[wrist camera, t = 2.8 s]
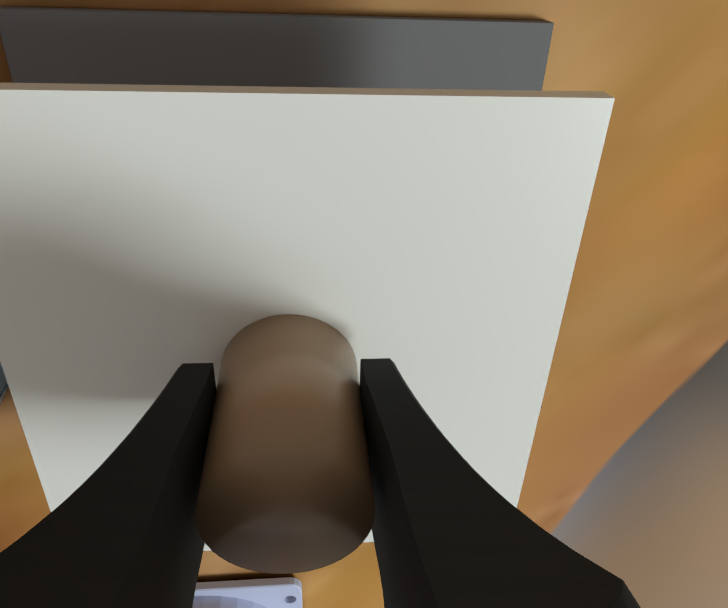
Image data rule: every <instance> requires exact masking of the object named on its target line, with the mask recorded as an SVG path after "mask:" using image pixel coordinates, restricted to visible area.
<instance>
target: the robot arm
mask: <svg viewBox="0 0 728 608" xmlns="http://www.w3.org/2000/svg"><path fill="white" fill-rule="evenodd" d="M359 387H360V394H361V402H362V410H363V418H364V424H365V431H366V438H367V446H368V454H369V462H370V469H371V477H372V485H373V492H374V500H375V520H374V523H373V526H372V534H373V539H374V544H375V549H376V554H377V559H378V564H379V570H380V576H381V582H382V589H383V597H384V607H385V608H640V606H639V604H638V603H637V601H636V600H635V598H634V597H633V595H632V594H631V592H630V591H629V589H628V587H627V586H626V584H625V583H624V581H623V580H622V579H620V578H618V577H617V576H615V575H613V574H612V573H610V572H608V571H607V570H605V569H603V568H602V567H600V566H598V565H597V564H595V563H593V562H592V561H590V560H589V559H587V558H585V557H584V556H582V555H580V554H579V553H577V552H575V551H574V550H572V549H571V548H569V547H568V546H566V545H565V544H564V543H562V542H561V541H559V540H558V539H556V538H555V537H554V536H552V535H551V534H549V533H548V532H546V531H545V530H544V529H542V528H541V527H540V526H538V525H537V524H536V523H534V522H533V521H532V520H531V519H529V518H528V517H527V516H526V515H524V514H523V513H522V512H521V511H520V510H518V509H517V508H516V507H515V506H513V505H512V504H511V503H510V502H508V501H507V500H506V499H505V498H504V497H503V496H502V495H500V494H499V493H498V492H497V491H496V490H495V489H494V488H493V487H492V486H491V485H490V484H488V483H487V482H486V481H485V480H484V479H483V478H482V477H481V476H480V475H479V474H478V473H477V472H476V471H475V470H474V469H473V468H472V467H471V466H470V464H469V463H468V462H467V461H466V460H465V459H464V458H463V457H462V456H461V455H460V454H459V452H458V451H457V450H456V449H455V448H454V447H453V446H452V444H451V443H450V442H449V441H448V440H447V439H446V437H445V436H444V435H443V434H442V432H441V431H440V430H439V429H438V427H437V426H436V425H435V423H434V422H433V421H432V419H431V418H430V417H429V415H428V414H427V413H426V411H425V410H424V409H423V407H422V406H421V405H420V403H419V402H418V400H417V399H416V397H415V396H414V394H413V393H412V391H411V390H410V388H409V387H408V385H407V384H406V382H405V381H404V379H403V377H402V376H401V374H400V372H399V370H398V369H397V367H396V365H395V363H394V362H393V361H392V360H391V359H390V358H378V359H361V360H360V385H359ZM215 395H216V383H215V374H214V365H213V363H183V364H182V365H181V366H180V367H179V368H178V369H177V370H176V372H175V373H174V375H173V376H172V378H171V379H170V380H169V382H168V383H167V385H166V386H165V388H164V389H163V390H162V392H161V393H160V394H159V396H158V397H157V399H156V400H155V401H154V403H153V404H152V405H151V407H150V408H149V409H148V410H147V412H146V413H145V414H144V415H143V417H142V418H141V419H140V420H139V422H138V423H137V424H136V425H135V427H134V428H133V429H132V430H131V432H130V433H129V434H128V435H127V436H126V438H125V439H124V440H123V441H122V442H121V443H120V444H119V445H118V447H117V448H116V449H115V450H114V451H113V452H112V453H111V454H110V456H109V457H108V458H107V459H106V460H105V461H104V462H103V463H102V464H101V465H100V467H99V468H98V469H97V470H96V471H95V472H94V473H93V474H92V475H91V476H90V477H89V478H88V479H87V480H86V481H85V482H84V483H83V484H82V485H81V486H80V487H79V488H78V489H76V490H75V491H74V492H73V493H72V494H71V495H70V496H69V497H68V498H67V499H66V500H65V501H64V502H63V503H61V504H60V505H59V506H58V507H57V508H56V509H54V510H53V511H52V512H51V513H50V514H49V515H47V516H46V517H45V518H44V519H43V520H42V521H40V522H39V523H38V524H37V525H36V526H34V527H33V528H32V529H31V530H29V531H28V532H27V533H26V534H24V535H23V536H22V537H21V538H20V539H18V540H17V541H16V542H14V543H13V544H12V545H10V546H9V547H8V548H6V549H5V550H3V551H2V552H1V553H0V608H302V583H301V581H300V580H298V579H297V578H294V577H284V578H267V579H249V580H232V581H214V582H197V577H198V573H199V568H200V563H201V559H202V554H203V549H204V545H205V542H204V541H203V539H202V538H201V536H200V534H199V532H198V530H197V526H196V520H195V512H196V505H197V499H198V493H199V488H200V482H201V476H202V470H203V464H204V459H205V453H206V447H207V441H208V435H209V430H210V424H211V418H212V412H213V406H214V401H215Z"/></svg>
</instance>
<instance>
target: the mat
mask: <svg viewBox="0 0 728 608" xmlns="http://www.w3.org/2000/svg"><path fill="white" fill-rule="evenodd" d="M553 25H554V23H552V22H550V21H537V20H499V19H460V18H422V17H384V16H345V15H307V14H269V13H230V12H192V11H153V10H115V9H77V8H38V7H0V34H1V38H2V42H3V46H4V50H5V54H6V58H7V62H8V66H9V70H10V74H11V78H12V82H13V83H65V84H131V85H198V86H264V87H331V88H397V89H463V90H530V91H542V86H543V80H544V75H545V69H546V64H547V58H548V53H549V47H550V42H551V36H552V30H553Z"/></svg>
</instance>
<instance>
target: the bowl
mask: <svg viewBox="0 0 728 608" xmlns="http://www.w3.org/2000/svg"><path fill="white" fill-rule="evenodd" d="M7 388H8V383H7V380H6V377H5V374H4V371H3V368H2V365H1V362H0V404H1V402H2V399H3V397H4V395H5V392H6V390H7Z"/></svg>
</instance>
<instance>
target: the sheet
mask: <svg viewBox="0 0 728 608" xmlns="http://www.w3.org/2000/svg"><path fill="white" fill-rule="evenodd" d="M614 99H615V98H613V97H612V96H610V95H608V94H607V93H605V92H596V91H530V90H463V89H397V88H331V87H264V86H198V85H131V84H65V83H0V362H1V365H2V368H3V371H4V374H5V377H6V380H7V383H8V386H9V389H10V392H11V395H12V398H13V401H14V404H15V407H16V410H17V413H18V416H19V419H20V422H21V425H22V428H23V431H24V433H25V436H26V439H27V442H28V445H29V448H30V451H31V454H32V457H33V460H34V463H35V466H36V469H37V472H38V475H39V478H40V481H41V484H42V487H43V490H44V493H45V496H46V499H47V502H48V505H49V508H50V511H51V512H52V511H53V510H54V509H56V508H57V507H58V506H59V505H60V504H61V503H63V502H64V501H65V500H66V499H67V498H68V497H69V496H70V495H71V494H72V493H73V492H74V491H75V490H76V489H78V488H79V487H80V486H81V485H82V484H83V483H84V482H85V481H86V480H87V479H88V478H89V477H90V476H91V475H92V474H93V473H94V472H95V471H96V470H97V469H98V468H99V467H100V465H101V464H102V463H103V462H104V461H105V460H106V459H107V458H108V457H109V456H110V454H111V453H112V452H113V451H114V450H115V449H116V448H117V447H118V445H119V444H120V443H121V442H122V441H123V440H124V439H125V438H126V436H127V435H128V434H129V433H130V432H131V430H132V429H133V428H134V427H135V425H136V424H137V423H138V422H139V420H140V419H141V418H142V417H143V415H144V414H145V413H146V412H147V410H148V409H149V408H150V407H151V405H152V404H153V403H154V401H155V400H156V399H157V397H158V396H159V394H160V393H161V392H162V390H163V389H164V388H165V386H166V385H167V383H168V382H169V380H170V379H171V378H172V376H173V375H174V373H175V372H176V370H177V369H178V368H179V367H180V366H181V365H182V364H183V363H213V365H214V374H215V383H216V395H215V401H214V406H213V412H212V418H211V424H210V430H209V435H208V441H207V447H206V453H205V459H204V464H203V470H202V476H201V482H200V488H199V493H198V499H197V505H196V512H195V520H196V526H197V530H198V532H199V534H200V536H201V538H202V539H203V541H204V542H205V545H204V549H203V551H210V550H212V551H213V552H214V553H216V554H217V555H218V556H219V557H221V558H223V559H224V560H226V561H228V562H230V563H232V564H234V565H236V566H239V567H242V568H245V569H249V570H253V571H257V572H263V573H274V574H291V573H300V572H306V571H311V570H315V569H319V568H322V567H325V566H327V565H330V564H332V563H335V562H337V561H339V560H341V559H342V558H344V557H346V556H347V555H349V554H350V553H351V552H353V551H354V550H355V549H356V548H358V547H359V546H360V545H361V544H362V543H363V542H374V539H373V534H372V526H373V523H374V520H375V500H374V492H373V485H372V477H371V469H370V462H369V454H368V446H367V438H366V431H365V424H364V418H363V410H362V402H361V394H360V387H359V385H360V360H361V359H378V358H390V359H391V360H392V361H393V362H394V363H395V365H396V367H397V369H398V370H399V372H400V374H401V376H402V377H403V379H404V381H405V382H406V384H407V385H408V387H409V388H410V390H411V391H412V393H413V394H414V396H415V397H416V399H417V400H418V402H419V403H420V405H421V406H422V407H423V409H424V410H425V411H426V413H427V414H428V415H429V417H430V418H431V419H432V421H433V422H434V423H435V425H436V426H437V427H438V429H439V430H440V431H441V432H442V434H443V435H444V436H445V437H446V439H447V440H448V441H449V442H450V443H451V444H452V446H453V447H454V448H455V449H456V450H457V451H458V452H459V454H460V455H461V456H462V457H463V458H464V459H465V460H466V461H467V462H468V463H469V464H470V466H471V467H472V468H473V469H474V470H475V471H476V472H477V473H478V474H479V475H480V476H481V477H482V478H483V479H484V480H485V481H486V482H487V483H488V484H490V485H491V486H492V487H493V488H494V489H495V490H496V491H497V492H498V493H499V494H500V495H502V496H503V497H504V498H505V499H506V500H507V501H508V502H510V503H511V504H512V505H513V506H515V507H516V508H517V504H518V500H519V496H520V492H521V487H522V483H523V479H524V475H525V471H526V467H527V462H528V458H529V454H530V450H531V446H532V442H533V437H534V433H535V429H536V425H537V421H538V416H539V412H540V408H541V404H542V400H543V396H544V391H545V387H546V383H547V379H548V375H549V371H550V366H551V362H552V358H553V354H554V350H555V345H556V341H557V337H558V333H559V329H560V325H561V320H562V316H563V312H564V308H565V304H566V300H567V295H568V291H569V287H570V283H571V279H572V275H573V270H574V266H575V262H576V258H577V254H578V249H579V245H580V241H581V237H582V233H583V229H584V224H585V220H586V216H587V212H588V208H589V204H590V199H591V195H592V191H593V187H594V183H595V178H596V174H597V170H598V166H599V162H600V158H601V153H602V149H603V145H604V141H605V137H606V133H607V128H608V124H609V120H610V116H611V112H612V107H613V103H614Z"/></svg>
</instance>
